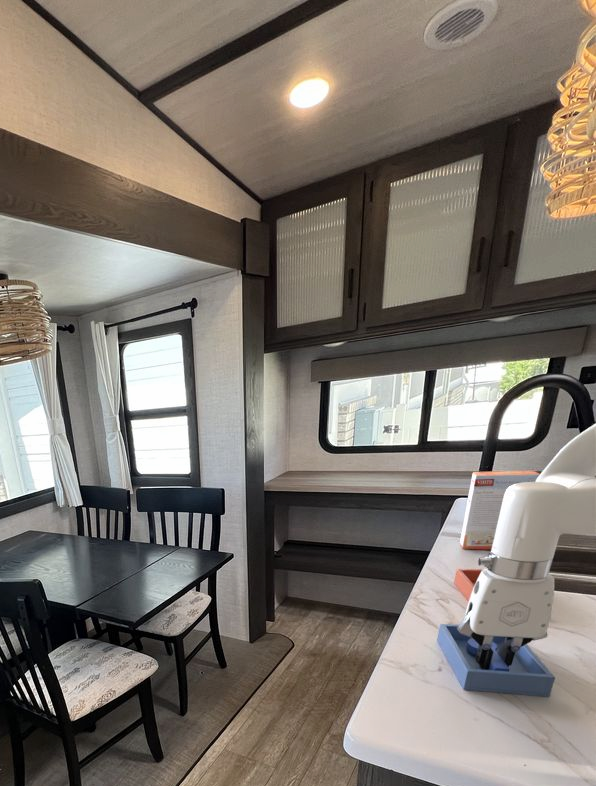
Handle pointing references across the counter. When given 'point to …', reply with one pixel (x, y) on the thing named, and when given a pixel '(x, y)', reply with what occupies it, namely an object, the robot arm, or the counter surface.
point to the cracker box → (488, 505)
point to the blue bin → (521, 678)
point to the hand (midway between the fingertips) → (492, 666)
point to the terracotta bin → (466, 580)
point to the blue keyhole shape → (496, 661)
